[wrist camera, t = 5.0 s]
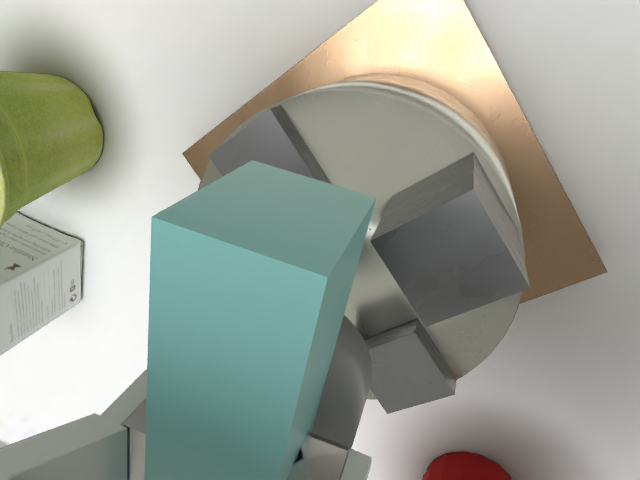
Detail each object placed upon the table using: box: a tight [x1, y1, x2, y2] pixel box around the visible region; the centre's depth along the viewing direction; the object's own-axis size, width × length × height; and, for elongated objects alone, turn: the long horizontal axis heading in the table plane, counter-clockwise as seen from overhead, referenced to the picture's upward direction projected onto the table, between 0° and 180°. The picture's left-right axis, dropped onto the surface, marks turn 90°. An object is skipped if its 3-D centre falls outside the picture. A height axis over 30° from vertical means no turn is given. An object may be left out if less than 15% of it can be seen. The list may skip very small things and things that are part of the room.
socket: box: [182, 0, 607, 414], centre depth 19 cm, size 16×16×12 cm
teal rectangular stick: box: [144, 160, 376, 480], centre depth 11 cm, size 4×12×5 cm, turn 169°
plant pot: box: [0, 71, 103, 228], centre depth 25 cm, size 9×9×9 cm
